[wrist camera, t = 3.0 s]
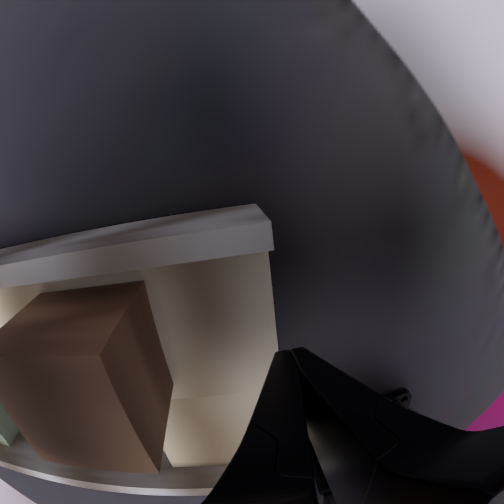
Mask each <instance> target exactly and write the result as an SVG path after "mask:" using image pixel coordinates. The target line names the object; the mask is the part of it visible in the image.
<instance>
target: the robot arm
mask: <svg viewBox="0 0 504 504" xmlns="http://www.w3.org/2000/svg"><path fill="white" fill-rule="evenodd" d="M410 398H411V394H410V393H409V391H408V390H407V389H403V390H400V391H397V392H394V393H391V394H388V395H385V396H383V395H381V394H380V395H379V393H378V392H376V391H374V390H373V389H371V388H369V387H368V386H366V385H364V384H363V383H361V382H359V381H357V380H356V379H354V378H352V377H351V376H349V375H348V374H346V373H344V372H343V371H341V370H339V369H338V368H336V367H334V366H333V365H331V364H330V363H328V362H326V361H325V360H323V359H321V358H320V357H318V356H317V355H315V354H313V353H312V352H310V351H309V350H307V349H306V348H304V347H299V348H294V349H290V351H289V350H282V351H277V352H275V354H274V356H273V359H272V362H271V365H270V368H269V370H268V373H267V376H266V379H265V382H264V384H263V387H262V390H261V392H260V395H259V398H258V401H257V403H256V406H255V409H254V411H253V414H252V416H251V419H250V422H249V424H248V426H247V429H246V432H245V434H244V436H243V438H242V441H241V443H240V445H239V447H238V449H237V451H236V452H235V454H234V456H233V458H232V459H231V461H230V463H229V464H228V466H227V467H226V469H225V470H224V472H223V474H222V475H221V477H220V478H219V480H218V481H217V483H216V484H215V486H214V487H213V489H212V490H211V492H210V493H209V495H208V496H207V497H206V499H205V500H204V501H203V502H202V503H201V504H504V426H501V427H497V428H493V429H488V430H483V431H465V430H461V429H457V428H454V427H452V426H449V425H446V424H444V423H441V422H439V421H436V420H434V419H431V418H429V417H426V416H424V415H421V414H419V413H417V412H414V411H412V410H410V409H408V406H409V402H410ZM309 438H310V441H309Z"/></svg>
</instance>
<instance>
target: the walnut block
mask: <svg viewBox="0 0 504 504" xmlns="http://www.w3.org/2000/svg"><path fill="white" fill-rule="evenodd" d="M173 385H174V383H173V380H172V377H171V374H170V371H169V368H168V365H167V362H166V359H165V355H164V352H163V349H162V346H161V342H160V339H159V335H158V332H157V329H156V325H155V321H154V318H153V314H152V310H151V307H150V303H149V299H148V295H147V291H146V287H145V283H144V280H141V281H133V282H125V283H118V284H110V285H102V286H94V287H86V288H78V289H70V290H61V291H53V292H45V293H40V294H39V295H38V296H36V297H35V298H34V299H33V300H32V301H31V302H29V303H28V304H27V305H26V306H25V307H24V308H22V309H21V310H20V311H19V312H18V313H17V314H16V315H15V316H13V317H12V318H11V319H10V320H9V321H8V322H7V323H6V324H5V325H3V326H2V327H1V328H0V402H1V403H2V405H3V407H4V408H5V410H6V411H7V413H8V414H9V416H10V417H11V419H12V420H13V422H14V423H15V425H16V426H17V428H18V429H19V431H20V432H21V433H22V435H23V436H24V437H25V439H26V440H27V442H28V443H29V444H30V446H31V447H32V448H33V449H34V451H35V452H36V453H37V454H38V456H39V457H40V458H41V459H42V460H43V461H48V462H53V463H58V464H63V465H69V466H75V467H81V468H88V469H96V470H105V471H115V472H127V473H146V474H160V468H161V461H162V454H163V447H164V440H165V434H166V427H167V421H168V415H169V409H170V403H171V397H172V391H173Z"/></svg>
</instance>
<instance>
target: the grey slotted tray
mask: <svg viewBox="0 0 504 504" xmlns="http://www.w3.org/2000/svg"><path fill="white" fill-rule="evenodd" d="M273 250H274V242H273V232H272V223H271V221H270V220H269V218H268V217H267V216H266V215H265V214H264V213H263V211H262V210H261V209H260V208H259V207H258V206H257V204H248V205H241V206H233V207H226V208H219V209H212V210H205V211H198V212H191V213H185V214H178V215H172V216H166V217H160V218H154V219H148V220H142V221H136V222H130V223H125V224H119V225H114V226H108V227H103V228H97V229H92V230H87V231H82V232H77V233H72V234H67V235H62V236H57V237H52V238H48V239H43V240H38V241H34V242H29V243H25V244H20V245H16V246H12V247H7V248H3V249H0V328H1V327H2V326H3V325H5V324H6V323H7V322H8V321H9V320H10V319H11V318H12V317H13V316H15V315H16V314H17V313H18V312H19V311H20V310H21V309H22V308H24V307H25V306H26V305H27V304H28V303H29V302H31V301H32V300H33V299H34V298H35V297H36V296H38V295H39V294H40V293H45V292H53V291H61V290H70V289H78V288H86V287H94V286H102V285H110V284H118V283H125V282H133V281H141V280H144V283H145V287H146V291H147V295H148V299H149V303H150V307H151V310H152V314H153V318H154V321H155V325H156V329H157V332H158V335H159V339H160V342H161V346H162V349H163V352H164V355H165V359H166V362H167V365H168V368H169V371H170V374H171V377H172V380H173V383H174V385H173V391H172V397H171V403H170V409H169V415H168V421H167V427H166V434H165V440H164V447H163V454H162V461H161V468H160V474H146V473H127V472H115V471H105V470H96V469H88V468H81V467H75V466H69V465H63V464H58V463H53V462H48V461H43V460H42V459H41V458H40V457H39V456H38V454H37V453H36V452H35V451H34V449H33V448H32V447H31V446H30V444H29V443H28V442H27V440H26V439H25V437H24V436H23V435H22V433H21V432H20V431H19V429H18V428H17V426H16V425H15V423H14V422H13V420H12V419H11V417H10V416H9V414H8V413H7V411H6V410H5V408H4V407H3V405H2V403H1V402H0V466H2V467H5V468H8V469H11V470H14V471H17V472H21V473H24V474H27V475H31V476H34V477H38V478H42V479H46V480H50V481H54V482H58V483H63V484H68V485H73V486H78V487H83V488H89V489H96V490H103V491H110V492H119V493H129V494H142V495H162V496H200V495H209V493H210V492H211V490H212V489H213V487H214V486H215V484H216V483H217V481H218V480H219V478H220V477H221V475H222V474H223V472H224V470H225V469H226V467H227V466H228V464H229V463H230V461H231V459H232V458H233V456H234V454H235V452H236V451H237V449H238V447H239V445H240V443H241V441H242V438H243V436H244V434H245V432H246V429H247V426H248V424H249V422H250V419H251V416H252V414H253V411H254V409H255V406H256V403H257V401H258V398H259V395H260V392H261V390H262V387H263V384H264V382H265V379H266V376H267V373H268V370H269V368H270V365H271V362H272V359H273V356H274V354H275V352H277V351H278V342H277V331H276V321H275V311H274V301H273V291H272V282H271V272H270V263H269V253H268V251H273Z"/></svg>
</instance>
